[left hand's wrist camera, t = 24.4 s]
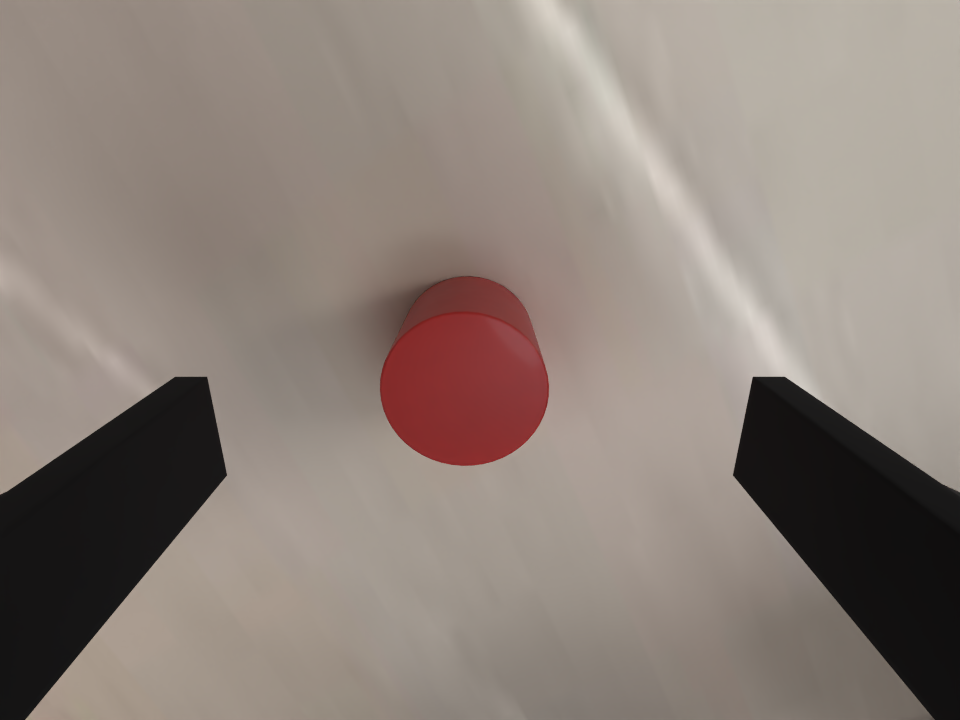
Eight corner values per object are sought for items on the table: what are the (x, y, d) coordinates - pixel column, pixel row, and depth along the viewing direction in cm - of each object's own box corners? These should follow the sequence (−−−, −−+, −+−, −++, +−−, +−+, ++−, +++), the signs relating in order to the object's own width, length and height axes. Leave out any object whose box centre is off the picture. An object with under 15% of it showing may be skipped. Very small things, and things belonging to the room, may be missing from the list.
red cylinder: (465, 422, 21) (461, 494, 17) (376, 337, 20) (344, 389, 15) (560, 344, 20) (584, 397, 15) (471, 247, 19) (468, 274, 14)
